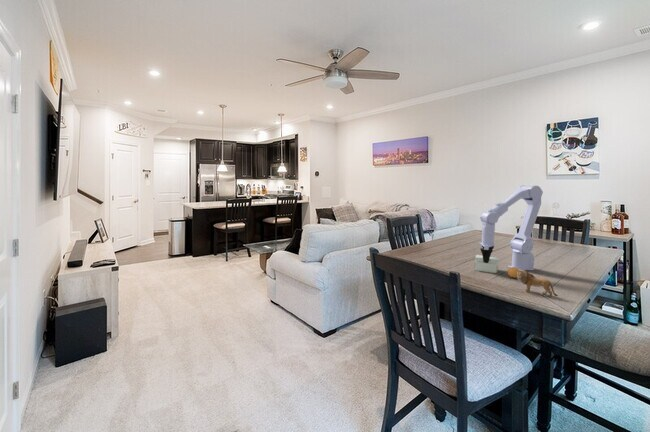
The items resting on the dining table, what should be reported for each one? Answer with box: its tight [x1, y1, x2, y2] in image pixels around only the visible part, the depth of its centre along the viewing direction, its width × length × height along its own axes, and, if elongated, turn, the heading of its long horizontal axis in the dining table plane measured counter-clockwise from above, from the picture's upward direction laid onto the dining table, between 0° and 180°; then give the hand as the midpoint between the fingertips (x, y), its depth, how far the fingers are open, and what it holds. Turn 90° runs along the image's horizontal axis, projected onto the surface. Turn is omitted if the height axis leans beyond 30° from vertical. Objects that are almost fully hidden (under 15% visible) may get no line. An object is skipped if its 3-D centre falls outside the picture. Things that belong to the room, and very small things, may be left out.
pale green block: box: [474, 254, 499, 274], centre depth 163 cm, size 10×8×7 cm
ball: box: [507, 267, 519, 279], centre depth 151 cm, size 5×5×5 cm
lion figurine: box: [516, 270, 559, 298], centre depth 130 cm, size 15×5×9 cm, turn 50°
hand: (486, 260), depth 163 cm, fingers open, 7 cm apart
